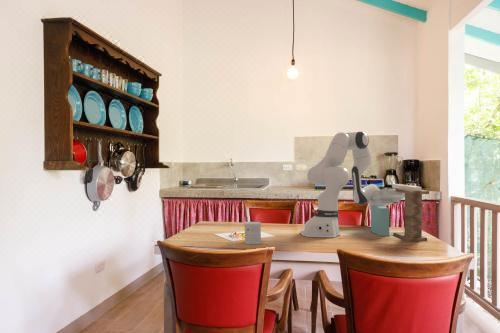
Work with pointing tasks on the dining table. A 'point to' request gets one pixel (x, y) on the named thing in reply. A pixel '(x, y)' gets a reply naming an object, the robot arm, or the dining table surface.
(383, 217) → the teal block
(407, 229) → the walnut stand
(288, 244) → the dining table surface
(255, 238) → the small box
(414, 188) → the domino tile
